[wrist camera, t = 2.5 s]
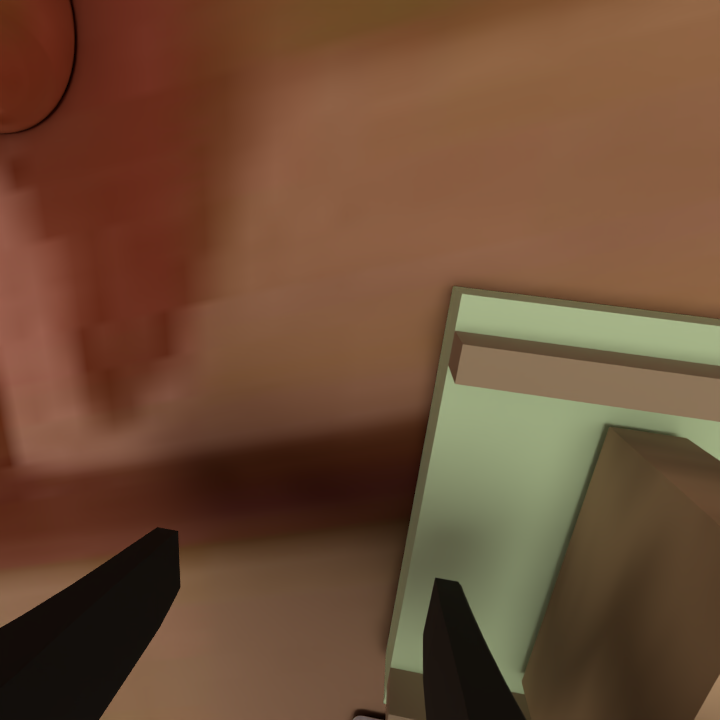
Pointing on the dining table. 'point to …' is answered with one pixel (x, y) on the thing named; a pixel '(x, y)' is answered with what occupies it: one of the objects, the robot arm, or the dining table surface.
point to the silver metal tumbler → (33, 59)
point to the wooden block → (636, 591)
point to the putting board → (531, 456)
